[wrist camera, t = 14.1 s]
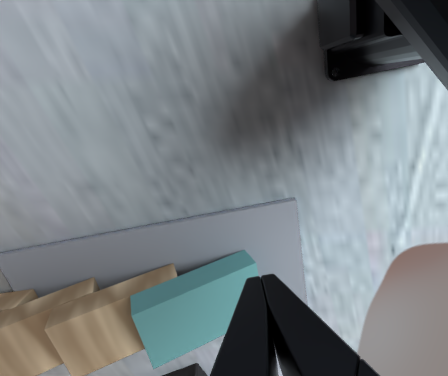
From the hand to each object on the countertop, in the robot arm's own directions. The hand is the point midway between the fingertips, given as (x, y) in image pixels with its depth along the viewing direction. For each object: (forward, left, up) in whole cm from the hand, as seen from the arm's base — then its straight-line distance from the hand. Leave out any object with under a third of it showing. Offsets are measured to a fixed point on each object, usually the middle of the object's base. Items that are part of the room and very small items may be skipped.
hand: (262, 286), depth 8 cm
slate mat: (+8, +9, -12) cm, 17 cm away
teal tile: (0, +9, -10) cm, 14 cm away
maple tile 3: (+13, +9, -11) cm, 19 cm away
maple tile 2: (+6, +9, -10) cm, 15 cm away
